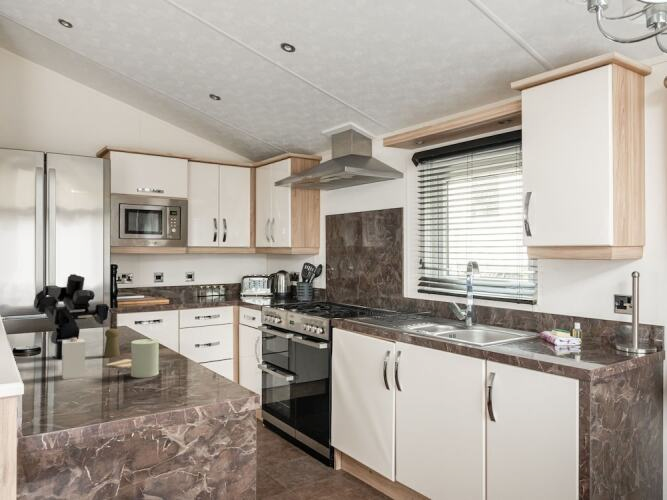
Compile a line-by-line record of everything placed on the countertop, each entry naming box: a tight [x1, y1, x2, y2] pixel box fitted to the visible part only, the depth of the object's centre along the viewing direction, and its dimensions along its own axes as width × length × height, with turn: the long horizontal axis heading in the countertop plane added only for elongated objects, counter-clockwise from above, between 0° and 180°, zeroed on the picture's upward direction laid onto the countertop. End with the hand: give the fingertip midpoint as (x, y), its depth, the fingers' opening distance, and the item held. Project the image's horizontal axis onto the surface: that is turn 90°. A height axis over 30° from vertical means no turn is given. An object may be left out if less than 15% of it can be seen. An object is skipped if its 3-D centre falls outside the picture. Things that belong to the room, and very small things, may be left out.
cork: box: [103, 328, 121, 359], centre depth 206 cm, size 6×6×11 cm
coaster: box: [105, 358, 131, 369], centre depth 192 cm, size 10×10×1 cm
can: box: [130, 338, 160, 379], centre depth 178 cm, size 9×9×12 cm
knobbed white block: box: [61, 338, 86, 380], centre depth 174 cm, size 6×6×13 cm
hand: (89, 324), depth 185 cm, fingers open, 9 cm apart
